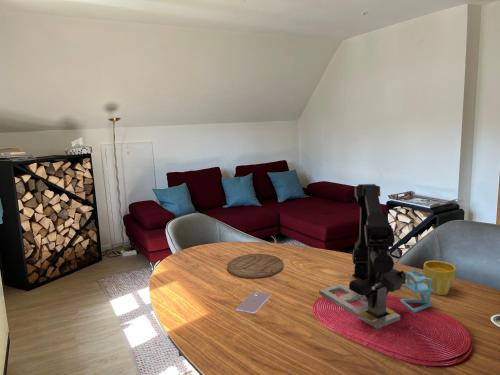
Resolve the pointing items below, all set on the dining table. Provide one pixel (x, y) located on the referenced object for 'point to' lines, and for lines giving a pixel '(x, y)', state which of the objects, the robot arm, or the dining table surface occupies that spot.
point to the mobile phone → (253, 302)
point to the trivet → (255, 266)
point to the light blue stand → (418, 290)
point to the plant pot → (439, 276)
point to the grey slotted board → (361, 310)
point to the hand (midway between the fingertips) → (376, 305)
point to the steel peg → (379, 302)
